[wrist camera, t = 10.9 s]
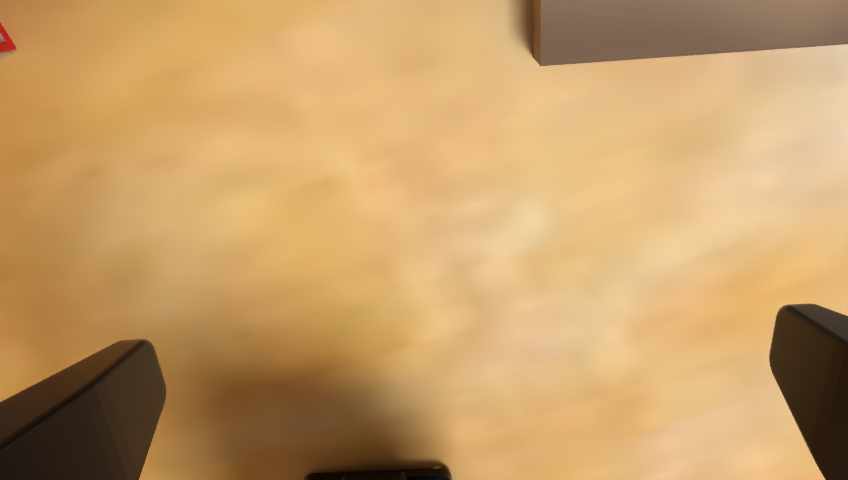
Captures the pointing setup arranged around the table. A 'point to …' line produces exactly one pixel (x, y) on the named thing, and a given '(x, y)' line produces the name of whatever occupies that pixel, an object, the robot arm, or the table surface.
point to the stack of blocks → (5, 44)
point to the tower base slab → (680, 27)
